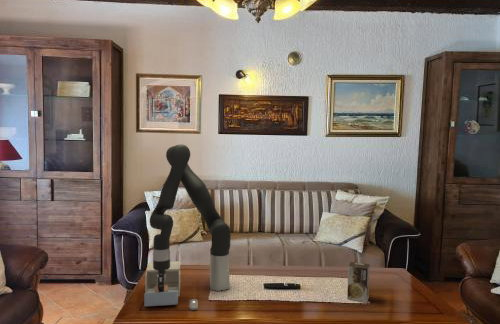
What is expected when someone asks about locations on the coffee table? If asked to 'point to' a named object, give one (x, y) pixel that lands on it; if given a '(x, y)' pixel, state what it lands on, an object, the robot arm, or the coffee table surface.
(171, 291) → the tray
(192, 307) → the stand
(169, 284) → the beige shelf
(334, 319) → the coffee table surface
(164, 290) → the tan dome knob
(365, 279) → the coffee box
